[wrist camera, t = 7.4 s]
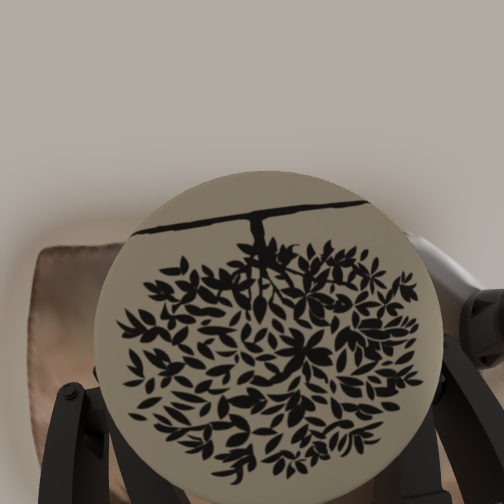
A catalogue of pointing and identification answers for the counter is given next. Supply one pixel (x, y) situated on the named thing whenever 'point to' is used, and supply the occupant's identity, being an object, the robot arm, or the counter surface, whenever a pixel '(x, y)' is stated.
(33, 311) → the counter surface
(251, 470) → the travel mug
